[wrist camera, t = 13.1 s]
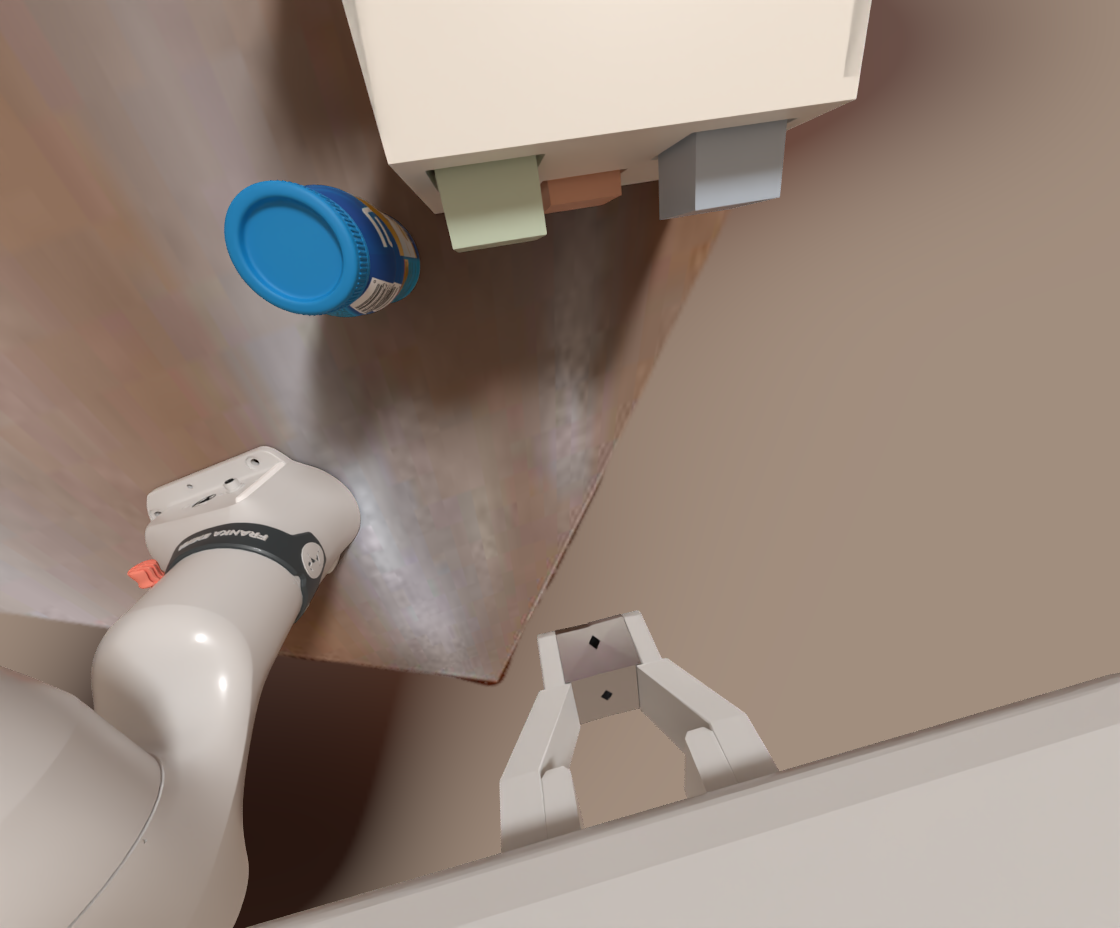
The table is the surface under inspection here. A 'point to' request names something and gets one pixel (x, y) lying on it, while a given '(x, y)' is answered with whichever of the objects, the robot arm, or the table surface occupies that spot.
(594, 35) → the button panel
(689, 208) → the slate-blue button
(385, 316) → the table surface
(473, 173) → the sage-green button
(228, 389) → the table surface
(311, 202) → the beverage bottle
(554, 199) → the terracotta button
